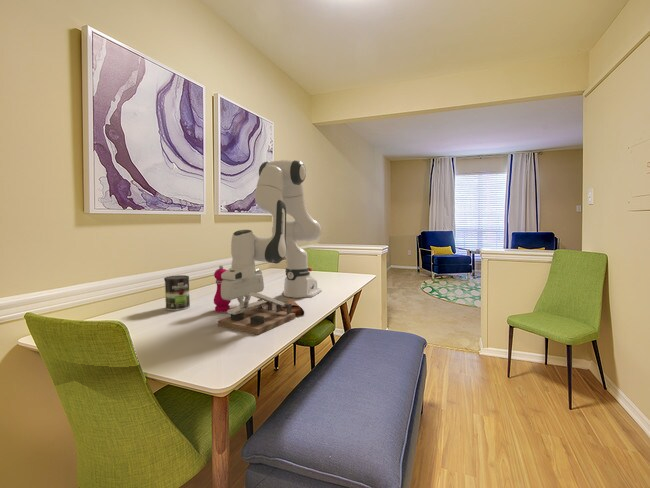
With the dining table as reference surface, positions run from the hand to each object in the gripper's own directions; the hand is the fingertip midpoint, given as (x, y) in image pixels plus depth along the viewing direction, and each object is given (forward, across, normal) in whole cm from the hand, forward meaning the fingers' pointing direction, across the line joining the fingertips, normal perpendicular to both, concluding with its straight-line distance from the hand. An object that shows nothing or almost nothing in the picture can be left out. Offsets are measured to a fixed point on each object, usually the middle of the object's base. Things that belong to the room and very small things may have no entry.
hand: (244, 306), depth 134 cm
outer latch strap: (-3, -3, +10) cm, 11 cm away
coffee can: (+6, 0, -41) cm, 41 cm away
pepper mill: (+6, -7, -20) cm, 22 cm away
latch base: (+6, -2, +5) cm, 8 cm away
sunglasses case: (+6, -21, +6) cm, 23 cm away
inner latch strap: (+1, -3, 0) cm, 3 cm away
